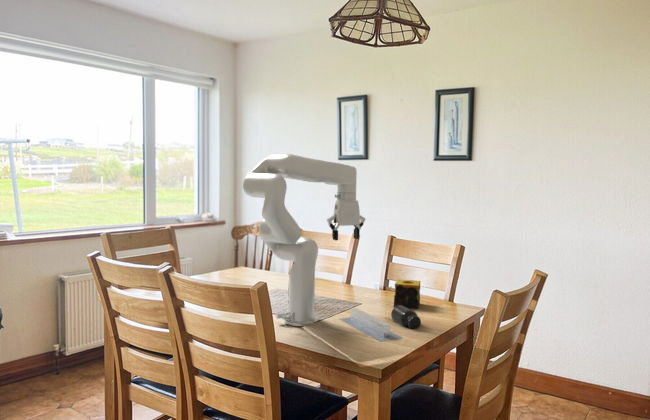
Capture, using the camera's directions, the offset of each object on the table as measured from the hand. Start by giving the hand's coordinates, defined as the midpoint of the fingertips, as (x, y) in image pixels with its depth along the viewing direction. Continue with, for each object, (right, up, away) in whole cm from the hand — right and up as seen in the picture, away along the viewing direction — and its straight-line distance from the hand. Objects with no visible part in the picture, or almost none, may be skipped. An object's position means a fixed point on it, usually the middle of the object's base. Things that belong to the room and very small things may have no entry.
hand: (345, 239), depth 211 cm
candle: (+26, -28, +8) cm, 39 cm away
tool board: (+7, -31, -27) cm, 42 cm away
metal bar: (+7, -30, -27) cm, 41 cm away
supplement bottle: (+19, -27, -17) cm, 37 cm away
